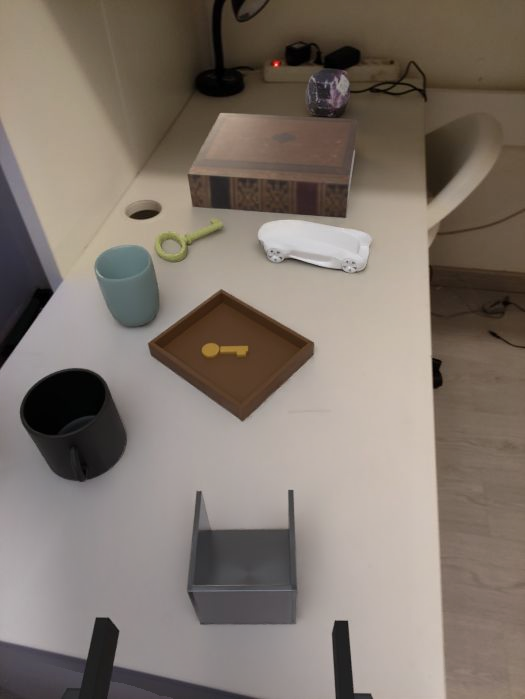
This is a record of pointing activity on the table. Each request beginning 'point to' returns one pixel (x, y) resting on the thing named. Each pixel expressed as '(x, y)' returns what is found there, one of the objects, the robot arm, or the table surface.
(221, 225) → the key
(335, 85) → the mineral specimen
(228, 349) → the brass key
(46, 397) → the mug
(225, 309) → the tray
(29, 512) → the table surface
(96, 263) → the cup
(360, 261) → the toy car
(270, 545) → the grey open-sided box
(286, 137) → the book
